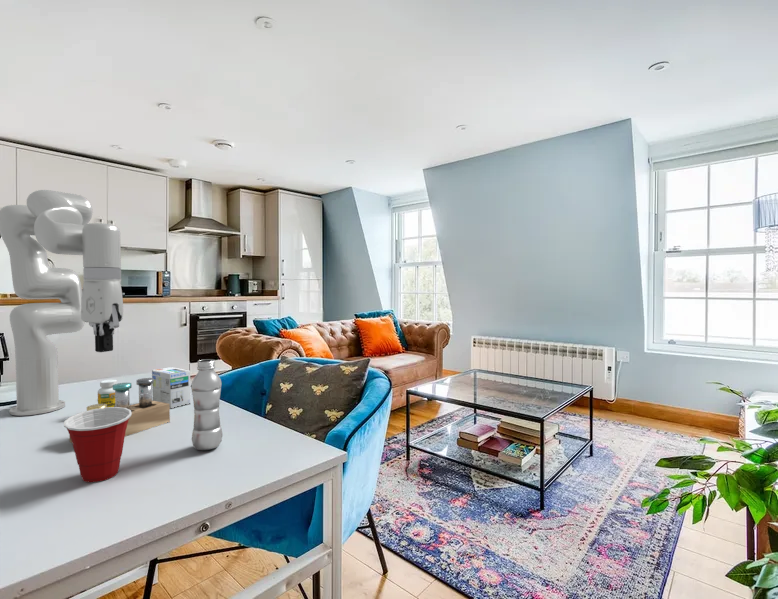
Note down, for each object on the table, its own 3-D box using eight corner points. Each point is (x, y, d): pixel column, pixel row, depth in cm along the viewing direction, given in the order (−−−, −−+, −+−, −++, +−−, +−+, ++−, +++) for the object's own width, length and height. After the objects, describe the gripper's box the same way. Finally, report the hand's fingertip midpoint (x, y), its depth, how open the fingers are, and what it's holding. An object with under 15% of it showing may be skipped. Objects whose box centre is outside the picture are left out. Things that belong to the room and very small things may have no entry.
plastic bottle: (192, 456, 90) (190, 364, 89) (191, 445, 96) (189, 359, 95) (224, 450, 93) (223, 362, 92) (221, 440, 99) (220, 357, 98)
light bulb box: (191, 404, 129) (191, 369, 129) (170, 409, 123) (169, 373, 123) (172, 399, 135) (171, 366, 134) (151, 403, 129) (150, 369, 129)
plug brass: (83, 438, 98) (82, 407, 98) (101, 433, 102) (100, 402, 102) (93, 441, 97) (92, 409, 96) (111, 435, 100) (110, 405, 100)
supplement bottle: (120, 410, 123) (119, 378, 122) (120, 414, 118) (120, 381, 118) (98, 413, 120) (97, 380, 119) (97, 418, 115) (96, 384, 115)
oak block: (69, 442, 98) (69, 421, 97) (150, 417, 115) (150, 400, 115) (89, 448, 94) (88, 426, 94) (169, 422, 112) (169, 403, 112)
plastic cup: (56, 494, 73) (54, 427, 73) (74, 469, 83) (73, 410, 83) (128, 483, 77) (126, 419, 77) (137, 460, 87) (136, 404, 87)
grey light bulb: (133, 408, 109) (133, 380, 109) (148, 404, 113) (147, 377, 112) (143, 410, 107) (142, 381, 107) (157, 406, 111) (157, 378, 111)
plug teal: (109, 414, 104) (109, 385, 103) (125, 410, 107) (125, 381, 107) (119, 417, 102) (118, 387, 102) (135, 412, 105) (134, 383, 105)
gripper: (68, 275, 100) (70, 351, 100) (103, 275, 93) (105, 356, 94) (101, 276, 106) (103, 347, 107) (136, 275, 100) (138, 351, 100)
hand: (104, 351), depth 100 cm, fingers closed
